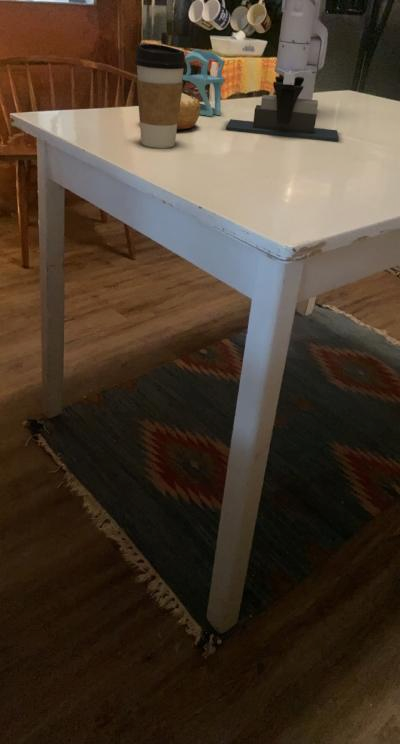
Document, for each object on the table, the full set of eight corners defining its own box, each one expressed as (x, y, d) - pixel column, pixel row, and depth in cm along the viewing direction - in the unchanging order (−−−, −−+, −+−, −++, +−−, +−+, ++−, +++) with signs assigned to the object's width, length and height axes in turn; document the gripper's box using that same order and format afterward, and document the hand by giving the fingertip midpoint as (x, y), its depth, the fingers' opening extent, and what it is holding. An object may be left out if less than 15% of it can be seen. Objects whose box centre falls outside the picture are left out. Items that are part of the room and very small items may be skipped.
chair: (204, 117, 127) (209, 54, 121) (175, 110, 132) (178, 48, 125) (227, 114, 132) (233, 52, 126) (199, 107, 137) (203, 47, 130)
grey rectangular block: (252, 127, 120) (256, 97, 117) (254, 123, 123) (257, 94, 120) (313, 133, 119) (318, 103, 116) (313, 129, 122) (318, 100, 119)
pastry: (203, 134, 114) (207, 82, 109) (140, 132, 112) (141, 79, 107) (194, 120, 124) (197, 72, 119) (136, 118, 122) (136, 69, 117)
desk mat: (230, 122, 125) (230, 119, 125) (336, 133, 124) (337, 130, 123) (225, 130, 119) (225, 126, 119) (338, 141, 117) (338, 138, 117)
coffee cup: (160, 136, 111) (162, 43, 102) (192, 146, 106) (197, 49, 98) (123, 141, 105) (123, 44, 97) (155, 152, 101) (158, 50, 92)
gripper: (316, 47, 106) (303, 129, 114) (315, 40, 118) (304, 114, 126) (276, 43, 107) (266, 125, 114) (279, 37, 119) (270, 111, 126)
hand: (283, 119), depth 120 cm, fingers open, 7 cm apart
